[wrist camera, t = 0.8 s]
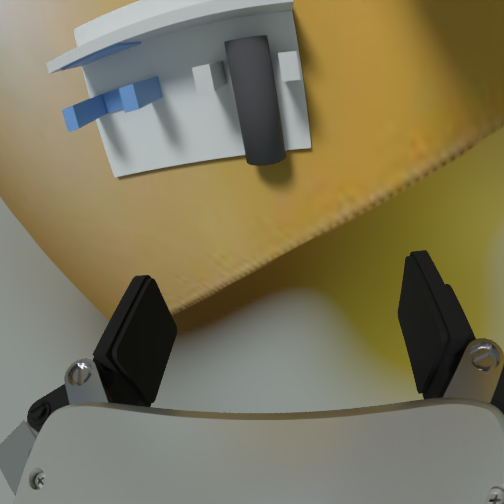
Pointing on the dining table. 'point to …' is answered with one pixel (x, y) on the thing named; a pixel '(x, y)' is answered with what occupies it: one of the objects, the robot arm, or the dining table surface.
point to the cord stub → (256, 99)
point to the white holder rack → (179, 79)
